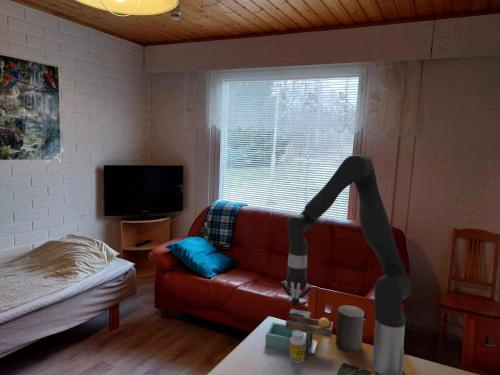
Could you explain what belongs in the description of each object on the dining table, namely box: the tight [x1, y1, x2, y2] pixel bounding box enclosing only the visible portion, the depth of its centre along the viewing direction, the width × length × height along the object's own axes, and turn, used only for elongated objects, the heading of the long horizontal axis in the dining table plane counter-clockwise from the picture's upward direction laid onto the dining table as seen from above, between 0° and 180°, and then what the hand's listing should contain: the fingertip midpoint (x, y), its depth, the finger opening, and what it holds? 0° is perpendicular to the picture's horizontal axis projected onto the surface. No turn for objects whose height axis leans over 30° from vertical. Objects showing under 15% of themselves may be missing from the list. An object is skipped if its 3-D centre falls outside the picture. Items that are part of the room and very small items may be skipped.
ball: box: [318, 317, 330, 328], centre depth 134 cm, size 4×4×4 cm
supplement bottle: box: [288, 330, 306, 364], centre depth 129 cm, size 5×5×10 cm
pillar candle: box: [334, 304, 365, 352], centre depth 139 cm, size 10×10×15 cm
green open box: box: [264, 322, 294, 353], centre depth 139 cm, size 10×10×5 cm
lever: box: [285, 308, 334, 338], centre depth 140 cm, size 18×15×3 cm
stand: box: [304, 329, 318, 357], centre depth 136 cm, size 5×9×9 cm, turn 162°
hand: (295, 306), depth 147 cm, fingers closed
